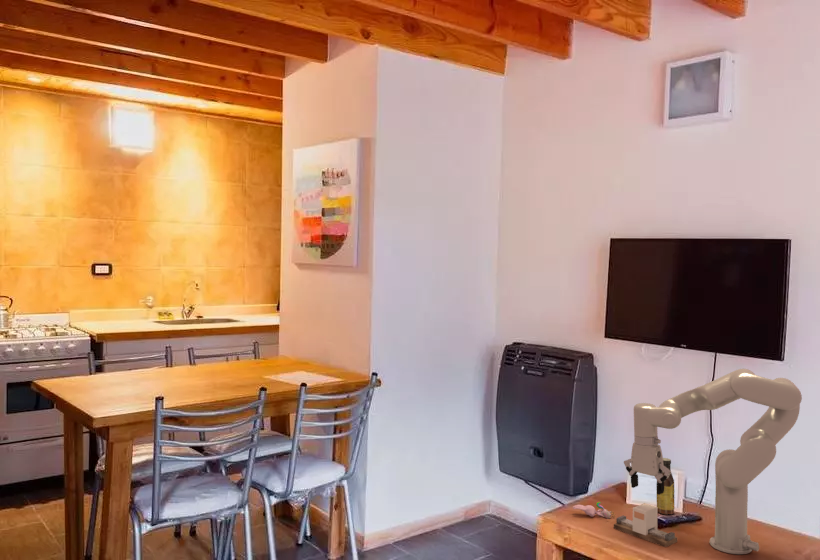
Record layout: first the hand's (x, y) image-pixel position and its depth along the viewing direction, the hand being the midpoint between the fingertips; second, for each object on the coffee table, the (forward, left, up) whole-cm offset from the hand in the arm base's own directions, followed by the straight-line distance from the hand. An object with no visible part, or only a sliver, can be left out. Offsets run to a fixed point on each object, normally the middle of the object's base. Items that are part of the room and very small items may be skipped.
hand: (647, 490), depth 231 cm
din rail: (+1, 0, -14) cm, 14 cm away
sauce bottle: (+8, -24, -16) cm, 30 cm away
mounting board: (+1, 0, -16) cm, 16 cm away
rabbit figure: (+22, 0, -16) cm, 27 cm away
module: (+1, 0, -14) cm, 14 cm away
